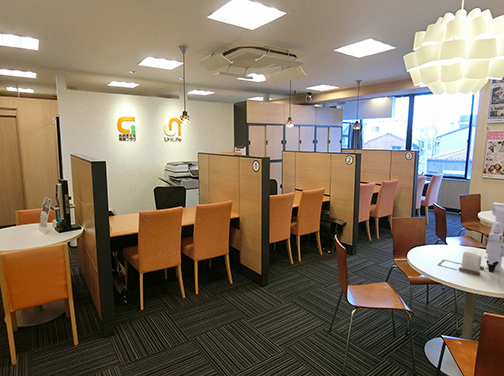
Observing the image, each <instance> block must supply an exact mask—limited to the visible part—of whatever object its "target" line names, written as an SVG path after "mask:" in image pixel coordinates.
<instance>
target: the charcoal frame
mask: <svg viewBox="0 0 504 376" xmlns="http://www.w3.org/2000/svg"><path fill="white" fill-rule="evenodd" d="M445 261H446V262H449V263H450V262H451V263H454V264H457V265H461V266H462V263H460V262H455V261H451V260H449V259H448V260H447V259H442V260H441V261H440V262H439V263H438V264H437V266H439V267H442V268H446V269H447V268H448V269H450V270H455V271H458V269H457V268H453V267H448V266H445V265H441V264H442V263H444V262H445Z"/></svg>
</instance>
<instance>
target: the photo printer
mask: <svg viewBox="0 0 504 376" xmlns="http://www.w3.org/2000/svg"><path fill="white" fill-rule="evenodd" d="M461 264H462V265H461V268H465V269H469V270H473V271H477V272H480V271H481V269H480V266H482V265H481V264H482V255H481V254H479V253H477V252H475V251H471V250H464V251H463V254H462V261H461ZM480 273H481V272H480Z"/></svg>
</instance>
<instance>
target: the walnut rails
mask: <svg viewBox="0 0 504 376" xmlns="http://www.w3.org/2000/svg"><path fill="white" fill-rule="evenodd" d="M481 270H482V271H485V266H482V265H481V266H480V271H481ZM458 271H459V272H462V273H466V274H470V275H474V276H478V277H479V276H481V275H480V274H481V272H477V271H473V270H469V269H465V268H462V266H461V267H458Z"/></svg>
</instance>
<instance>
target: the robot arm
mask: <svg viewBox="0 0 504 376" xmlns="http://www.w3.org/2000/svg"><path fill="white" fill-rule="evenodd" d="M491 212H492V215H493V216H494V217H495V221H494V223H492V225H491V229H490V232H489V234H488V242H487V245H486V248H485V253H486V254H487V255H486V256H484V259H487V260H486V266H484V269H486V270H488V272H489V273H492V274H494V272H495V271H496V272H499V273H500V272H501V271H502V270H503V267H502V260H503V258H504V242H503V237H504V233H503V232H504V203H500V202H495V201H494V202H493V203H492V207H491Z"/></svg>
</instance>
